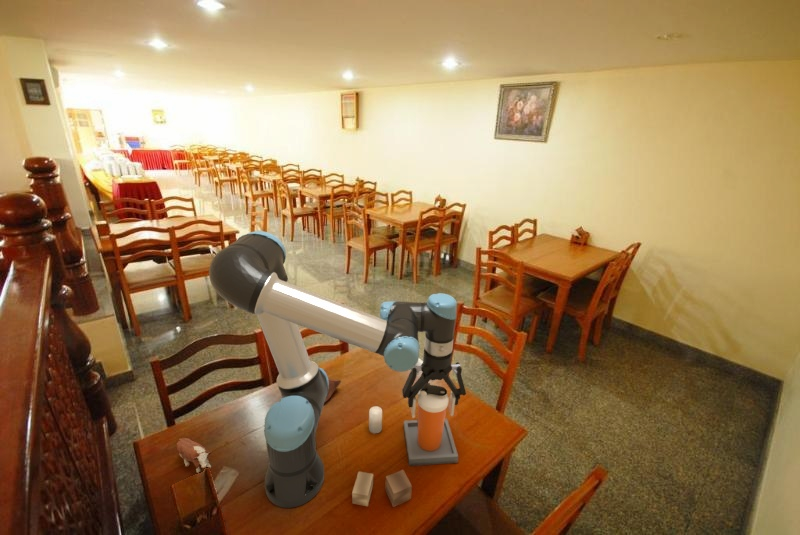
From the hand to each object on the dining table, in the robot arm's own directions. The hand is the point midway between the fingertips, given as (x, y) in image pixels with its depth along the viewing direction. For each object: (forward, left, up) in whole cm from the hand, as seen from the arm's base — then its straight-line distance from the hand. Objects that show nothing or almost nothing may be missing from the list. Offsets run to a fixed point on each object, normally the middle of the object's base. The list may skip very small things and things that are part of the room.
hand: (432, 413), depth 102 cm
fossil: (-34, +22, -12) cm, 42 cm away
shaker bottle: (0, 0, -11) cm, 11 cm away
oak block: (-20, -14, -12) cm, 27 cm away
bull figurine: (-65, -3, -12) cm, 66 cm away
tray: (0, 0, -12) cm, 12 cm away
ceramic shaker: (-16, +7, -12) cm, 21 cm away
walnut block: (-11, -15, -12) cm, 22 cm away
